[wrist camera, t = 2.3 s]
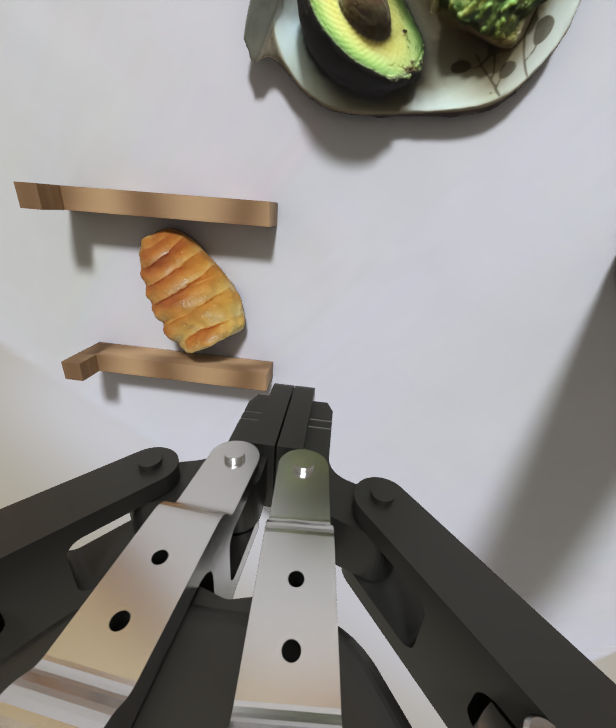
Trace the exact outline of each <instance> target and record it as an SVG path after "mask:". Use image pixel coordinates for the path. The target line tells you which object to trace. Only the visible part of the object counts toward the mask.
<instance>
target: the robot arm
mask: <svg viewBox="0 0 616 728" xmlns="http://www.w3.org/2000/svg"><path fill="white" fill-rule="evenodd" d="M314 396H315V388H310V387H302V386H295V388H294V386H293V385H285V384H276V383H275V384H274V386H273V388H272V390H271V393H270V395H269V396H265V395H258V396H256V397H255V398H253V399H252V400H251V401H249V403H248V405H247V407H246V409H245V412H244V413H243V415H242V416H241V419H240V420H239V422H238V424H237V426H236V428H235V430H234V432H233V434H232V436H231V437H230V439H229V441H228V442H225V443H223V444H220V445H219V446H217V447H216V448H214V449H213V450H212V452H211V453H210V454H209V456H208V457H207V459H203V460H197V461H187V462H179V459H178V455H177V454H176V453H175V452H174V451H173V450H171V449H168V448H163V447H154V448H148V449H144V450H142V451H139V452H137V453H134V454H132V455H129V456H127V457H125V458H122V459H120V460H118V461H115V462H113V463H110V464H108V465H105V466H103V467H101V468H98V469H96V470H94V471H91V472H89V473H86V474H84V475H81V476H79V477H77V478H74V479H72V480H69V481H67V482H65V483H62V484H60V485H57V486H55V487H52V488H50V489H48V490H45V491H43V492H40V493H38V494H36V495H33V496H31V497H29V498H26V499H24V500H21V501H19V502H16V503H14V504H12V505H9V506H7V507H4V508H2V509H0V728H412V727H411V725H410V723H409V722H408V720H407V718H406V716H405V715H404V713H403V711H402V710H401V708H400V706H399V705H398V703H397V701H396V700H395V698H394V696H393V694H392V693H391V691H390V690H389V688H388V686H387V684H386V682H385V681H384V680H383V677H382V676H381V674H380V673H379V671H378V669H377V667H376V666H375V664H374V663H373V661H372V660H371V658H370V657H369V656H368V654H367V653H366V652H365V650H364V649H363V648H362V647H361V646H360V645H359V644H358V643H357V642H356V640H354V638H353V637H351V636H350V635H349V634H348V633H346V632H345V631H344V630H343V629H342V628H340V627H339V626H338V620H337V593H336V571H335V569H336V568H335V564H336V565H338V566H339V567H341V568H342V573H343V575H344V578H345V579H346V581H347V582H348V584H349V585H350V587H351V588H352V590H353V591H354V592H355V594H356V595H357V597H358V598H359V600H360V601H361V603H362V604H363V606H364V607H365V609H366V610H367V611H368V613H369V614H370V616H371V617H372V619H373V620H374V622H375V623H376V624H377V626H378V627H379V629H380V630H381V632H382V633H383V635H384V636H385V638H386V639H387V640H388V642H389V643H390V645H391V646H392V648H393V649H394V651H395V652H396V653H397V655H398V656H399V658H400V659H401V661H402V662H403V663H404V665H405V667H406V668H407V669H408V671H409V672H410V674H411V675H412V677H413V678H414V680H415V681H416V682H417V684H418V685H419V687H420V688H421V689H422V691H423V693H424V694H425V695H426V697H427V698H428V700H429V701H430V703H431V704H432V706H433V707H434V709H435V710H436V711H437V713H438V714H439V716H440V717H441V719H442V720H443V722H444V723H445V724H446V726H447V727H448V728H616V684H615V683H614V682H613V681H612V680H610V679H609V678H608V677H607V676H606V675H605V674H604V673H603V672H602V671H601V670H600V669H598V668H597V667H596V666H595V665H594V664H593V663H592V662H591V661H590V660H589V659H588V658H586V657H585V656H584V655H583V654H582V653H581V652H580V651H579V650H578V649H577V648H576V647H574V646H573V645H572V644H571V643H570V642H569V641H568V640H567V639H566V638H565V637H564V636H562V635H561V634H560V633H559V632H558V631H557V630H556V629H555V628H554V627H553V626H552V625H550V624H549V623H548V622H547V621H546V620H545V619H544V618H543V617H542V616H541V615H540V614H538V613H537V612H536V611H535V610H534V609H533V608H532V607H531V606H530V605H529V604H528V603H526V602H525V601H524V600H523V599H522V598H521V597H520V596H519V595H518V594H517V593H516V592H515V591H513V590H512V589H511V588H510V587H509V586H508V585H507V584H506V583H505V582H504V581H503V580H501V579H500V578H499V577H498V576H497V575H496V574H495V573H494V572H493V571H492V570H491V569H489V568H488V567H487V566H486V565H485V564H484V563H483V562H482V561H481V560H480V559H479V558H477V557H476V556H475V555H474V554H473V553H472V552H471V551H470V550H469V549H468V548H467V547H465V546H464V545H463V544H462V543H461V542H460V541H459V540H458V539H457V538H456V537H455V536H453V535H452V534H451V533H450V532H449V531H448V530H447V529H446V528H445V527H444V526H443V525H441V524H440V523H439V522H438V521H437V520H436V519H435V518H434V517H433V516H432V515H431V514H429V513H428V512H427V511H426V510H425V509H424V508H423V507H422V506H421V505H420V504H419V503H417V502H416V501H415V500H414V499H413V498H412V497H411V496H410V495H409V494H408V493H407V492H405V491H404V490H403V489H402V488H401V487H400V486H399V485H397V484H396V483H394V482H392V481H390V480H387V479H384V478H379V477H371V478H366V479H363V480H362V481H360V482H359V483H358V484H354V483H352V482H349V481H347V480H345V479H343V478H341V477H340V476H339V475H337V474H336V473H335V472H334V471H333V469H332V468H331V466H330V463H329V450H330V438H331V425H332V413H333V411H332V410H331V408H330V406H329V405H328V403H324V402H316V401H314ZM263 506H267V507H271V511H270V517H269V520H267V521H266V526H265V531H264V536H263V542H262V548H261V553H260V558H259V564H258V570H257V575H256V581H255V587H254V592H253V597H250V598H240V599H233V597H234V593H235V589H236V586H237V583H238V581H239V578H240V576H241V573H242V570H243V568H244V565H245V562H246V560H247V557H248V555H249V551H250V549H251V546H252V544H253V541H254V539H255V536H256V533H257V531H258V526H259V519H260V516H261V512H262V509H263ZM127 513H130V516H131V520H130V521H129V522H127V523H125V524H123V525H122V526H119V527H118V528H116V529H114V530H112V531H110V532H108V533H106V534H104V535H103V536H101V537H99V538H97V539H95V540H94V541H91V542H90V543H88V544H86V545H84V546H82V547H81V548H78V549H75V550H70V551H69V549H70V547H71V546H72V545H73V544H74V543H75V542H76V541H77V540H79V539H80V538H82V537H84V536H86V535H88V534H89V533H91V532H93V531H95V530H97V529H99V528H100V527H103V526H105V525H106V524H109V523H110V522H112V521H114V520H116V519H118V518H120V517H122V516H124V515H125V514H127Z"/></svg>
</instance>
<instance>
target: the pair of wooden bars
mask: <svg viewBox="0 0 616 728" xmlns="http://www.w3.org/2000/svg"><path fill="white" fill-rule="evenodd" d="M14 185H15V189H16V192H17V196H18V200H19V204H20V208H29V209H40V210H73V211H85V212H97V213H109V214H121V215H133V216H145V217H157V218H169V219H181V220H193V221H205V222H217V223H229V224H241V225H253V226H265V227H272V226H277V210H278V203H276V202H266V201H253V200H241V199H228V198H215V197H202V196H189V195H176V194H163V193H150V192H138V191H125V190H112V189H99V188H86V187H73V186H60V185H49V184H38V183H26V182H14ZM61 363H62V366H63V370H64V374H65V378H66V379H72V380H80V381H84V380H85V379H87V378H89V377H90V376H92V375H93V374H95V373H97V372H98V371H106V372H114V373H122V374H131V375H139V376H147V377H155V378H163V379H171V380H180V381H188V382H196V383H204V384H212V385H221V386H229V387H237V388H245V389H253V390H261V391H266V390H267V388H268V386H269V384H270V382H271V380H272V378H273V362H268V361H259V360H251V359H242V358H233V357H225V356H216V355H207V354H198V353H187V352H181V351H172V350H164V349H155V348H146V347H138V346H129V345H120V344H112V343H103V342H99V343H97V344H95V345H93V346H91V347H89V348H87V349H85V350H83V351H81V352H79V353H77V354H75V355H73V356H72V357H70V358H68V359H66V360H64V361H62V362H61Z"/></svg>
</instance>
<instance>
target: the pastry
mask: <svg viewBox="0 0 616 728" xmlns="http://www.w3.org/2000/svg"><path fill="white" fill-rule="evenodd" d="M139 256H140V262H141V272H140V273H141V274H140V275H141V278H142V279H143V280H144V282H145V284H146V296H147V298H148V299H149V300H150V301H151V303H152V311H153V312H154V314H155V317H156V318H157V319H158V320H159V321H162V322H163V323H164V328H163V331H164V334H165V335H166V336H167V337H168V338H169V339H171V340H173V341H177V342H178V343H179V345H180V347H181V348H182V349H183V350H185V351H186V352H187V353H194V352H196V351H200V350H203V349H205V348H208V347H211V346H213V345H214V344H216V343H217V342H218V341H221V340H224V339H225V338H227V337H229V336H231V335H234V334H236V333H238V332H240V331H242V330H243V328H244V326H245V316H244V311H243V305H242V300H241V298H240V296H239V294H238V292H237V290H236V288H235V286H234V285H233V283H232V282H231V281H230V280H229V279H228V278H227V276H226V275H225V273H224V272H223V271H222V270H221V268H220V267H219V266H218V265H217V264H216V263H215V262H214V261H213V259H212V258H211V257H210V256H209V255H208V254H207V253H206V252H205V251H204V250H203V249H202V248H201V247H200V246H199V244H198V243H197V242H196V241H195V240H193V239H192V238H190V237H189V236H187V235H185V234H184V233H182V232H180V231H177V230H174V229H170V228H168V229H164V230H161V231H158V232H156V233H154V234H152V235H149V236H146V237H145V238H143V239H142V240H141V249H140V252H139Z"/></svg>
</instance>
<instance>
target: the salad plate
mask: <svg viewBox="0 0 616 728" xmlns="http://www.w3.org/2000/svg"><path fill="white" fill-rule="evenodd" d="M580 1H581V0H250V5H249V9H248V14H247V20H246V25H245V33H244V40H245V43H246V46H247V48H248V50H249V54H250V58H251V63H255V62H257V61H261V60H262V59H263V58H265V57H270V58H272V59H274V60H276V61H277V62H278V63H279V64H280V65H281V66H282V67H283V68H284V69H285V70H286V71H287V73H288V74H289V76H290V77H291V78H292V79H293V80H294V81H295V82H296V83H297V85H298V86H299V88H300V89H301V90H302V91H303V92H305V93H306V94H307V95H308V96H309V97H310V98H311V99H313V100H315V101H316V102H317V103H318V104H319V105H321V106H323V107H325V108H327V109H330V110H333V111H336V112H341V113H345V114H351V115H369V116H373V117H378V118H383V117H390V116H443V117H456V116H460V115H465V114H474V113H481V112H485V111H489V110H491V109H493V108H495V107H497V106H498V105H499V104H501V103H502V102H504V101H505V100H506V99H508V98H509V97H511V96H512V95H513V94H515V93H516V91H517V90H518V89H519V88H520V87H521V86H522V85H523V84H524V83H525V82H526V81H527V80H528V79H529V78H530V77H531V76H532V75H533V74H534V73H535V72H536V71H537V70H538V69H539V68H540V67H541V65H542V64H543V63H544V62H545V61H546V60H547V58H548V57H549V56H550V55H551V53H552V52H553V51H554V50H555V49H556V48H557V46H558V45H559V43H560V41H561V40H562V38H563V37H564V35H565V34H566V32H567V31H568V29H569V27H570V25H571V22H572V20H573V17H574V15H575V13H576V10H577V8H578V6H579V4H580ZM455 61H457V62H455ZM454 62H455V63H454Z"/></svg>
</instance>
